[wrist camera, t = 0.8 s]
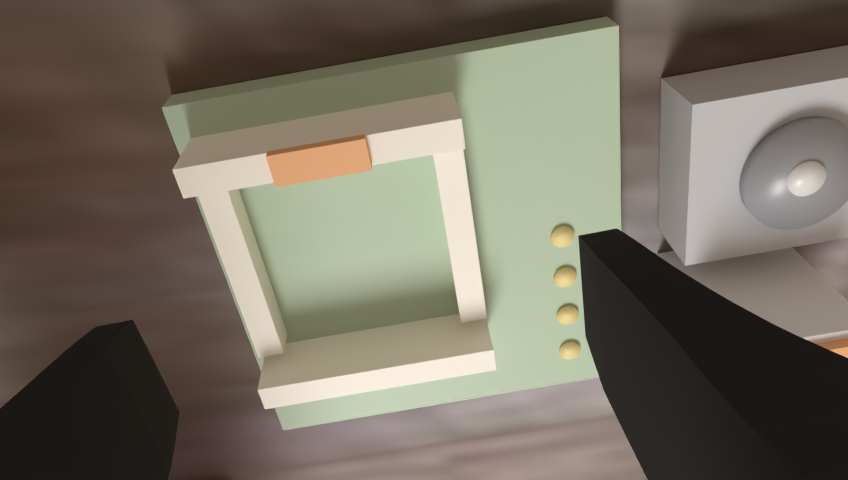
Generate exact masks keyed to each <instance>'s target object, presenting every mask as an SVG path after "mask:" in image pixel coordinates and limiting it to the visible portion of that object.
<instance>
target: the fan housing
mask: <svg viewBox="0 0 848 480" xmlns="http://www.w3.org/2000/svg"><path fill="white" fill-rule="evenodd" d="M658 229H659V231H660V232H661V233H662V235H663V236H664V237H665V239H666V240H667V242H668V243H669V244H670V246H671V247H672V248H673V250H674V251H675V253H676V254H677V255H678V257H679V258H680V259H681V261H682V262H683V264H684V265H685V266H687V265H693V264H698V263H704V262H710V261H716V260H722V259H728V258H733V257H739V256H745V255H751V254H757V253H763V252H768V251H774V250H780V249H786V248H792V247H798V246H803V245H809V244H815V243H821V242H827V241H832V240H838V239H844V238H848V45H846V46H840V47H834V48H829V49H823V50H818V51H812V52H806V53H801V54H795V55H789V56H784V57H778V58H773V59H767V60H761V61H756V62H750V63H744V64H739V65H733V66H728V67H722V68H716V69H711V70H705V71H699V72H694V73H688V74H683V75H677V76H671V77H666V78H661V107H660V155H659V204H658Z"/></svg>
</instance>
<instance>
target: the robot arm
mask: <svg viewBox="0 0 848 480" xmlns="http://www.w3.org/2000/svg"><path fill="white" fill-rule="evenodd" d="M578 239H579V253H580V267H581V281H582V295H583V308H584V322H585V336H586V339H587V342H588V345H589V348H590V351H591V354H592V357H593V360H594V363H595V366H596V369H597V372H598V375H599V378H600V381H601V383H602V386H603V389H604V391H605V394H606V396H607V398H608V400H609V402H610V404H611V406H612V408H613V410H614V412H615V414H616V416H617V418H618V420H619V422H620V424H621V427H622V429H623V431H624V433H625V435H626V437H627V439H628V441H629V443H630V445H631V447H632V449H633V451H634V453H635V455H636V457H637V459H638V461H639V463H640V465H641V467H642V469H643V471H644V473H645V475H646V477H647V479H648V480H848V358H847V357H844V356H842V355H839V354H837V353H835V352H833V351H831V350H828V349H826V348H824V347H822V346H819V345H817V344H815V343H813V342H810V341H808V340H806V339H804V338H801V337H799V336H797V335H795V334H793V333H791V332H789V331H787V330H785V329H782V328H780V327H778V326H776V325H774V324H772V323H770V322H769V321H767V320H765V319H763V318H761V317H759V316H757V315H756V314H754V313H752V312H750V311H748V310H746V309H744V308H743V307H741V306H739V305H737V304H735V303H733V302H732V301H730V300H728V299H726V298H725V297H723V296H721V295H720V294H718V293H716V292H714V291H713V290H711V289H709V288H708V287H706V286H704V285H703V284H701V283H700V282H698V281H696V280H695V279H693V278H691V277H690V276H688V275H687V274H685V273H684V272H682V271H680V270H679V269H677V268H676V267H674V266H673V265H671V264H670V263H668V262H667V261H665V260H664V259H662V258H661V257H659V256H658V255H656V254H655V253H653V252H652V251H650V250H649V249H647V248H646V247H644V246H643V245H641V244H640V243H638V242H637V241H635V240H634V239H632V238H631V237H630V236H628V235H627V234H625V233H623V232H622V231H620V230H619V229H617V228H616V229H611V230H606V231H600V232H595V233H590V234H584V235H579V236H578ZM178 416H179V410H178V408H177V406H176V404H175V402H174V400H173V398H172V396H171V394H170V392H169V390H168V388H167V386H166V384H165V382H164V380H163V378H162V376H161V375H160V373H159V371H158V369H157V367H156V365H155V363H154V361H153V359H152V357H151V355H150V353H149V351H148V349H147V347H146V345H145V343H144V341H143V339H142V337H141V335H140V333H139V331H138V329H137V327H136V325H135V323H134V321H133V320H130V321H124V322H119V323H114V324H109V325H103V326H98V327H95V328H94V329H93V330H91V331H90V332H89V333H87V334H86V335H84V336H83V337H82V338H81V339H79V340H78V341H77V342H76V343H75V344H73V345H72V346H71V347H70V348H69V349H67V350H66V351H65V352H64V353H63V354H62V355H60V356H59V357H58V358H57V359H56V360H55V361H54V362H52V363H51V364H50V365H49V366H48V367H47V368H46V369H45V370H43V371H42V372H41V373H40V374H39V375H38V376H37V377H36V378H34V379H33V380H32V381H31V382H30V383H29V384H28V385H27V386H25V387H24V388H23V389H22V390H21V391H20V392H19V393H17V394H16V395H15V396H14V397H13V398H12V399H11V400H10V401H8V402H7V403H6V404H5V405H4V406H3V407H2V408H1V409H0V480H168V476H169V472H170V469H171V463H172V457H173V451H174V446H175V439H176V431H177V424H178Z"/></svg>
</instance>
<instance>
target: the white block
mask: <svg viewBox="0 0 848 480" xmlns="http://www.w3.org/2000/svg"><path fill="white" fill-rule="evenodd" d="M657 255H658V256H659V257H661V258H662V259H664V260H665V261H667V262H668V263H670V264H671V265H673V266H674V267H676V268H677V269H679V270H680V271H682V272H684V273H685V274H687V275H688V276H690V277H691V278H693V279H695V280H696V281H698V282H700V283H701V284H703V285H704V286H706V287H708V288H709V289H711V290H713V291H714V292H716V293H718V294H720V295H721V296H723V297H725V298H726V299H728V300H730V301H732V302H733V303H735V304H737V305H739V306H741V307H743V308H744V309H746V310H748V311H750V312H752V313H754V314H756V315H757V316H759V317H761V318H763V319H765V320H767V321H769V322H770V323H772V324H774V325H776V326H778V327H780V328H782V329H785V330H787V331H789V332H791V333H793V334H795V335H797V336H799V337H801V338H804V339H806V340H808V341H810V342H813V343H815V344H817V345H819V346H822V347H824V348H826V349H828V350H831V351H833V352H835V353H837V354H839V355H842V356H844V357H847V358H848V301H847V300H846V299H845V298H844V297H843V296H842V295H841V294H840V293H839V292H838V291H837V290H836V289H835V288H834V287H833V286H832V285H831V284H830V283H829V282H828V281H827V280H826V279H825V278H824V277H823V276H822V275H821V274H820V273H819V272H818V271H817V270H816V269H814V268H813V267H812V266H811V265H810V264H809V263H808V262H807V261H806V260H805V259H804V258H803V257H802V256H801V255H800V254H799V253H798V252H797V251H796V250H795V249H794V248H793V247H792V248H786V249H780V250H774V251H768V252H763V253H757V254H751V255H745V256H739V257H733V258H728V259H722V260H716V261H710V262H704V263H698V264H693V265H687V266H685V265H684V264H683V262H682V261H681V259H680V258H679V257H678V255H677V254H676V253H675V251H670V252H664V253H658V254H657Z"/></svg>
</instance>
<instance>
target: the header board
mask: <svg viewBox="0 0 848 480" xmlns="http://www.w3.org/2000/svg"><path fill="white" fill-rule="evenodd" d="M162 110H163V113H164V116H165V118H166V121H167V124H168V126H169V129H170V132H171V134H172V137H173V140H174V142H175V145H176V147H177V150H178V153H179V155H180V157H179V159H178V161H177V163H176V164H175V166H174V168H173V169H172V170H173V173H174V176H175V178H176V181H177V183H178V186H179V189H180V191H181V194H182V196H183V199H185V198H190V197H195V198H196V201H197V203H198V206H199V209H200V211H201V214H202V216H203V219H204V222H205V224H206V227H207V230H208V232H209V235H210V238H211V240H212V243H213V246H214V248H215V251H216V254H217V256H218V259H219V262H220V264H221V267H222V270H223V272H224V275H225V278H226V280H227V283H228V285H229V288H230V291H231V293H232V296H233V299H234V301H235V304H236V307H237V309H238V312H239V315H240V317H241V320H242V323H243V325H244V328H245V331H246V333H247V336H248V339H249V341H250V344H251V347H252V349H253V352H254V355H255V357H256V360H257V362H258V365H259V368H260V370H261V375H260V380H259V385H258V393H259V395H260V398H261V400H262V403H263V405H264V408H265V409H270V408H275V410H276V413H277V416H278V418H279V421H280V424H281V426H282V429H283V430H289V429H295V428H301V427H307V426H313V425H319V424H325V423H331V422H337V421H343V420H349V419H354V418H360V417H366V416H372V415H378V414H384V413H390V412H396V411H402V410H408V409H414V408H420V407H426V406H432V405H438V404H443V403H449V402H455V401H461V400H467V399H473V398H479V397H485V396H491V395H497V394H503V393H509V392H515V391H521V390H527V389H532V388H538V387H544V386H550V385H556V384H562V383H568V382H574V381H580V380H586V379H592V378H598V377H599V375H598V372H597V369H596V366H595V363H594V360H593V357H592V354H591V351H590V348H589V345H588V342H587V339H586V336H585V322H584V308H583V295H582V281H581V267H580V253H579V239H578V236H579V235H584V234H590V233H595V232H600V231H606V230H611V229H616V228H617V229H619V230H620V231H621V168H620V83H619V25H618V24H616V23H615V22H614V21H612V20H611V19H610V18H609V17H601V18H596V19H590V20H585V21H579V22H573V23H568V24H562V25H557V26H551V27H546V28H540V29H535V30H529V31H524V32H518V33H512V34H507V35H501V36H496V37H490V38H485V39H479V40H474V41H468V42H462V43H457V44H451V45H446V46H440V47H435V48H429V49H424V50H418V51H412V52H407V53H401V54H396V55H390V56H385V57H379V58H374V59H368V60H362V61H357V62H351V63H346V64H340V65H335V66H329V67H324V68H318V69H313V70H307V71H301V72H296V73H290V74H285V75H279V76H274V77H268V78H263V79H257V80H251V81H246V82H240V83H235V84H229V85H224V86H218V87H213V88H207V89H201V90H196V91H190V92H185V93H179V94H174V95H171V96H170V97H169V98H168V100H167V101H166V102H165V104H164V105H163V106H162Z"/></svg>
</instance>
